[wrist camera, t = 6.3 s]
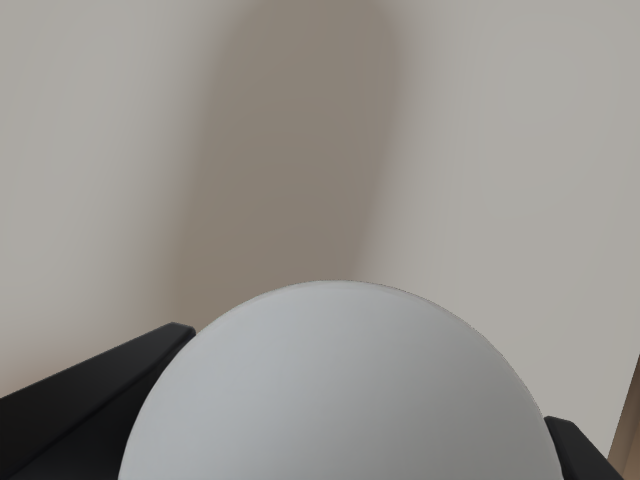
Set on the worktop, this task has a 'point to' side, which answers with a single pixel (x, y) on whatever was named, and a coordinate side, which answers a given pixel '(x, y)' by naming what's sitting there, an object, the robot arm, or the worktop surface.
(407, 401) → the pill bottle
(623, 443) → the nut base
